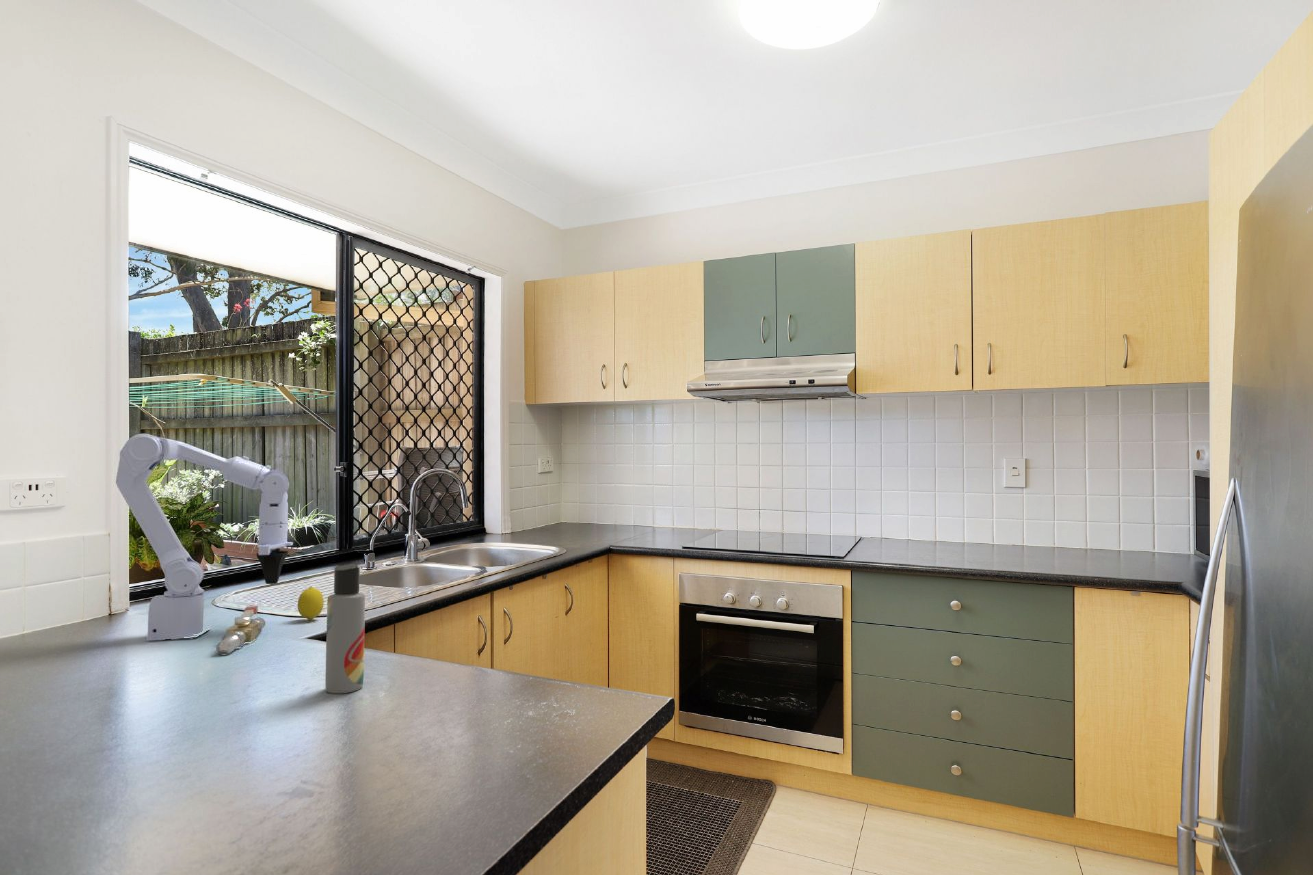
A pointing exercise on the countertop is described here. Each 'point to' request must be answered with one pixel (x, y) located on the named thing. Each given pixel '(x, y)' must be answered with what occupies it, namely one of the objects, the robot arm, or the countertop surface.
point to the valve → (240, 635)
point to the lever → (246, 615)
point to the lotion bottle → (345, 632)
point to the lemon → (310, 603)
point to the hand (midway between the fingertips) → (271, 583)
